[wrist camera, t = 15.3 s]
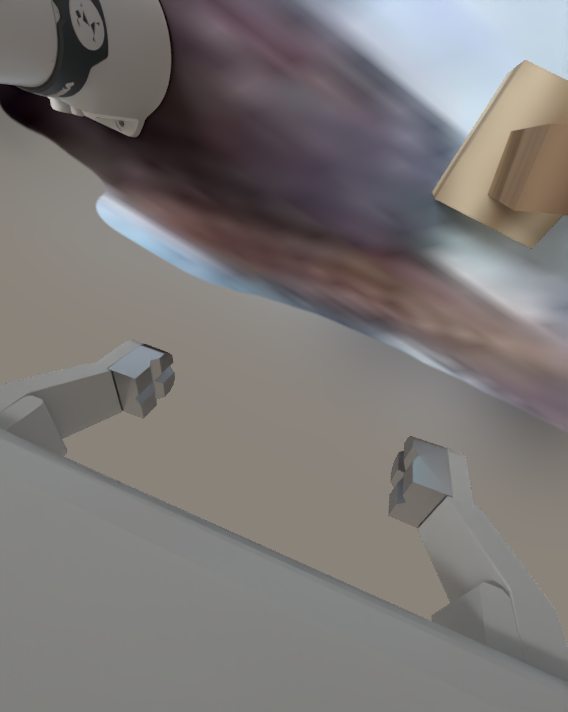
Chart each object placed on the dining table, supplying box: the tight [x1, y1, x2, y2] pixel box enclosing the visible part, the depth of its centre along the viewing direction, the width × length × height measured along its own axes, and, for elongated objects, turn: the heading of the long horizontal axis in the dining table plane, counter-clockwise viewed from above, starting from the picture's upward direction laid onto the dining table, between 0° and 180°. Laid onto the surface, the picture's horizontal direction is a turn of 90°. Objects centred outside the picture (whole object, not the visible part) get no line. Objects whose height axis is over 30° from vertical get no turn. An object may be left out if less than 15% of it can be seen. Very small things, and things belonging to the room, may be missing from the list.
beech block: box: [432, 60, 568, 249], centre depth 30 cm, size 11×11×6 cm
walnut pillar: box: [488, 124, 568, 215], centre depth 24 cm, size 5×5×10 cm
